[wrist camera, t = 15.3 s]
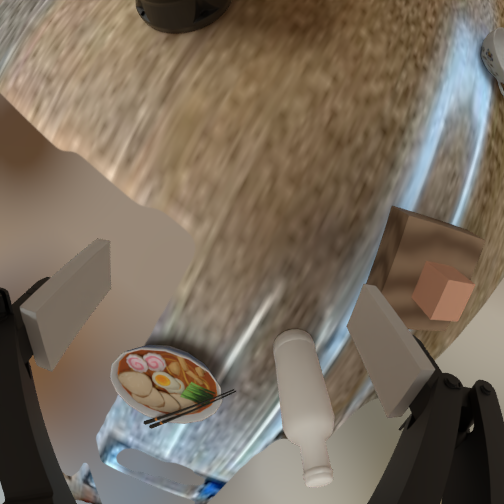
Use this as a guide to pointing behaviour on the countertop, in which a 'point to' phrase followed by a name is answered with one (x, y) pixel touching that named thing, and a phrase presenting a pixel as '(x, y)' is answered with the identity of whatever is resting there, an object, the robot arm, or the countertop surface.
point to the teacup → (494, 55)
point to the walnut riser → (419, 261)
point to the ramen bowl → (166, 384)
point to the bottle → (304, 403)
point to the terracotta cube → (442, 292)
